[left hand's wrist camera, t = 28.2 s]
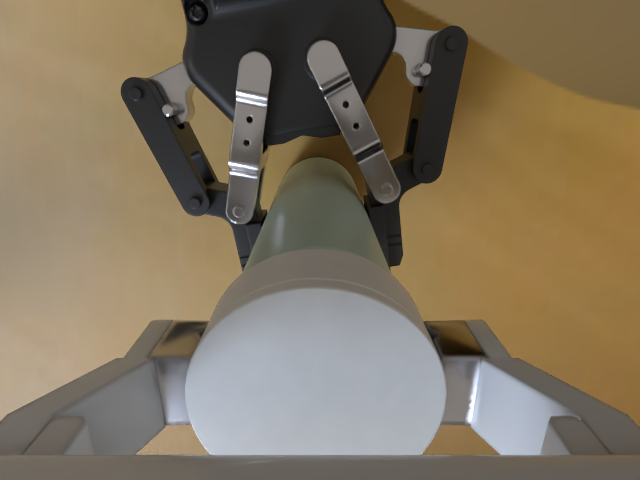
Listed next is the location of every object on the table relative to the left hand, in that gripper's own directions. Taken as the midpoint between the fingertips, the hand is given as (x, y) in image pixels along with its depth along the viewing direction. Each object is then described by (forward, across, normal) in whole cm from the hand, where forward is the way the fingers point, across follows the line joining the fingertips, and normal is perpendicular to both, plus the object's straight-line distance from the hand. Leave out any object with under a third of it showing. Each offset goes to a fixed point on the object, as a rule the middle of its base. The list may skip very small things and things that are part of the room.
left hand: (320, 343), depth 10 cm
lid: (-2, 0, 0) cm, 2 cm away
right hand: (+9, 0, -3) cm, 10 cm away
